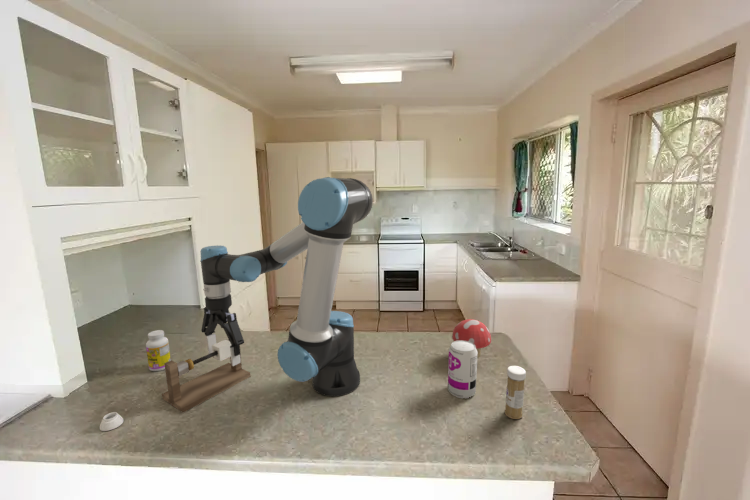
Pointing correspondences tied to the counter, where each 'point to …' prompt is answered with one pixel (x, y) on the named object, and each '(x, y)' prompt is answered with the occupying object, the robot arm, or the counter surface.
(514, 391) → the sprinkles bottle
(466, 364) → the supplement can
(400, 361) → the counter surface
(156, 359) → the supplement bottle
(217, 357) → the sleeve
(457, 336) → the decorative mushroom
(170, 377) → the brown stand with rod
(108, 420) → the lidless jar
